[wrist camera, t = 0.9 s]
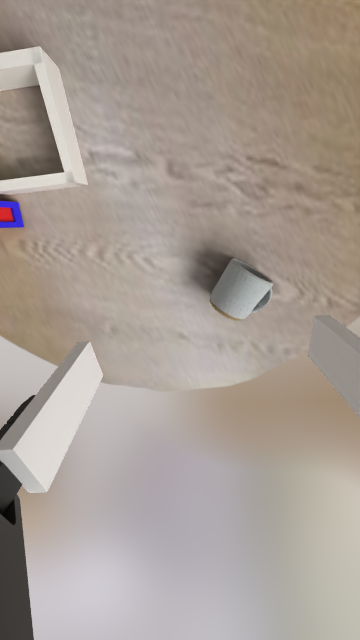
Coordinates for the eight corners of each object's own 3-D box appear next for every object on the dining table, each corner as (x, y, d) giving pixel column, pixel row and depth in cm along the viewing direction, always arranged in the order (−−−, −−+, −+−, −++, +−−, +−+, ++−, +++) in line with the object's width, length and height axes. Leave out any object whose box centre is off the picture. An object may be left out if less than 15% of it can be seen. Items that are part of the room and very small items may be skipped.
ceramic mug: (204, 295, 40) (209, 313, 33) (227, 253, 37) (238, 264, 30) (252, 317, 42) (266, 338, 35) (278, 280, 39) (300, 295, 32)
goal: (-34, 82, 28) (-66, 63, 24) (58, 68, 27) (39, 46, 23) (10, 194, 33) (-11, 192, 30) (88, 185, 32) (76, 181, 29)
